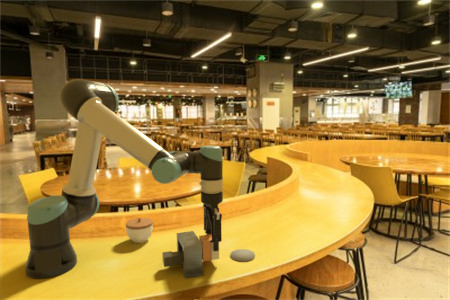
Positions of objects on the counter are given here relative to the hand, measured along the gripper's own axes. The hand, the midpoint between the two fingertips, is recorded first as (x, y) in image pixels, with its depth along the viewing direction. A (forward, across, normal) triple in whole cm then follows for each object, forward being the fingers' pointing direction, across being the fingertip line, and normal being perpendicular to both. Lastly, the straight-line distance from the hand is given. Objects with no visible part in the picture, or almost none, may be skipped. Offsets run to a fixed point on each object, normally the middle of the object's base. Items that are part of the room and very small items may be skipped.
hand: (212, 255), depth 105 cm
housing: (+2, 0, -8) cm, 9 cm away
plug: (0, 0, -8) cm, 8 cm away
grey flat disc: (+2, 0, +12) cm, 12 cm away
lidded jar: (+3, -28, -22) cm, 36 cm away
